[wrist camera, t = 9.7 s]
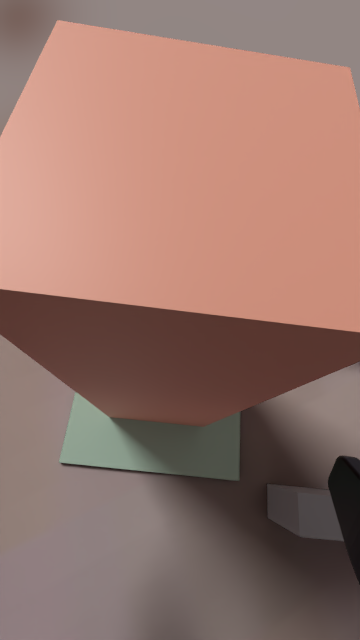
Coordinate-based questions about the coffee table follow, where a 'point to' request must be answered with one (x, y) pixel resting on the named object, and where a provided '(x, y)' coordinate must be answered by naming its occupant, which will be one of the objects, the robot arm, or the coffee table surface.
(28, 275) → the salmon-pink block
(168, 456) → the sage mat
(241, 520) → the coffee table surface
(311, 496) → the grey parallel walls
